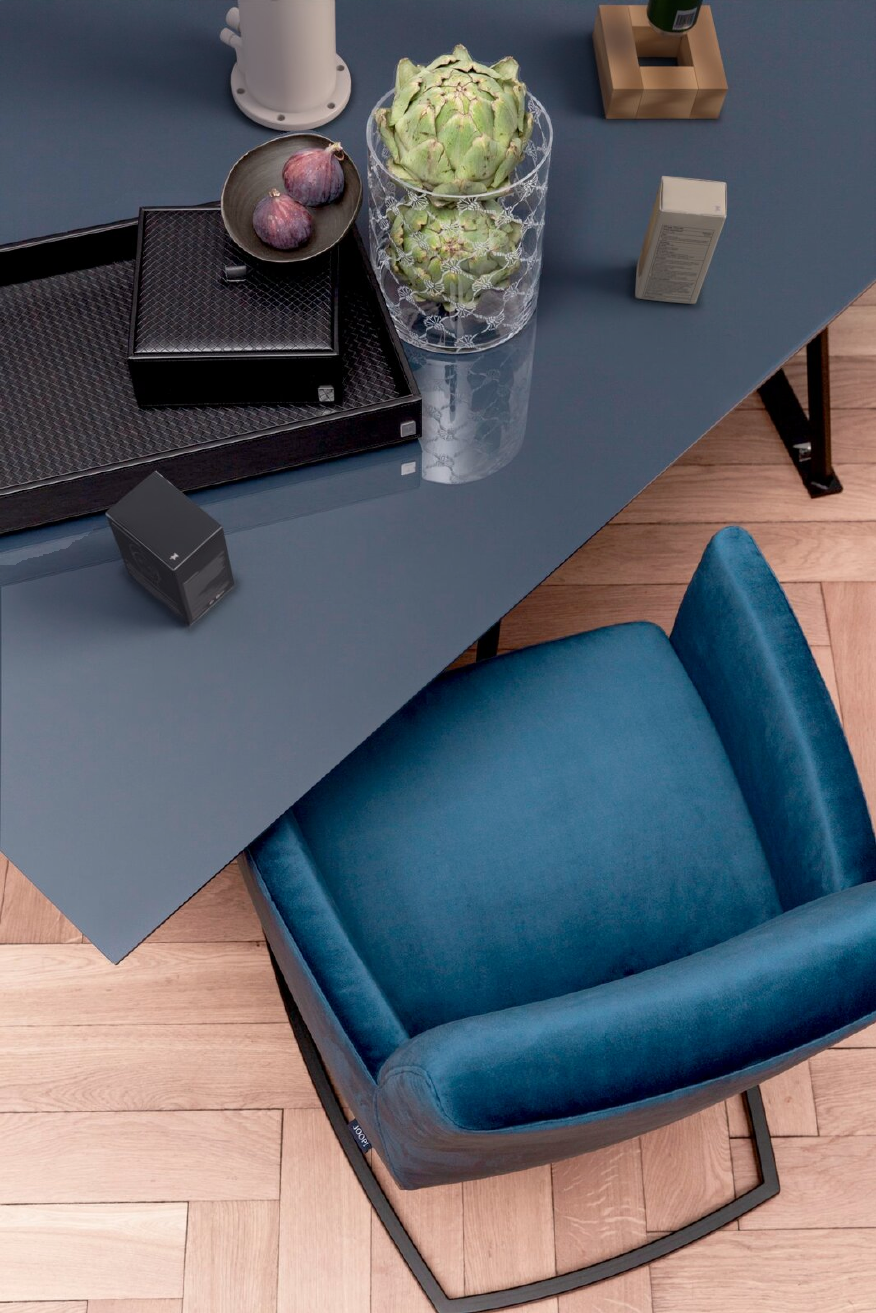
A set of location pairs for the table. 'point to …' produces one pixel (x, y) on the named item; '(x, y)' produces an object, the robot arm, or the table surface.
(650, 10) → the beer can
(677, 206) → the cosmetic box
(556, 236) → the table surface
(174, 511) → the box
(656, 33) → the holder
